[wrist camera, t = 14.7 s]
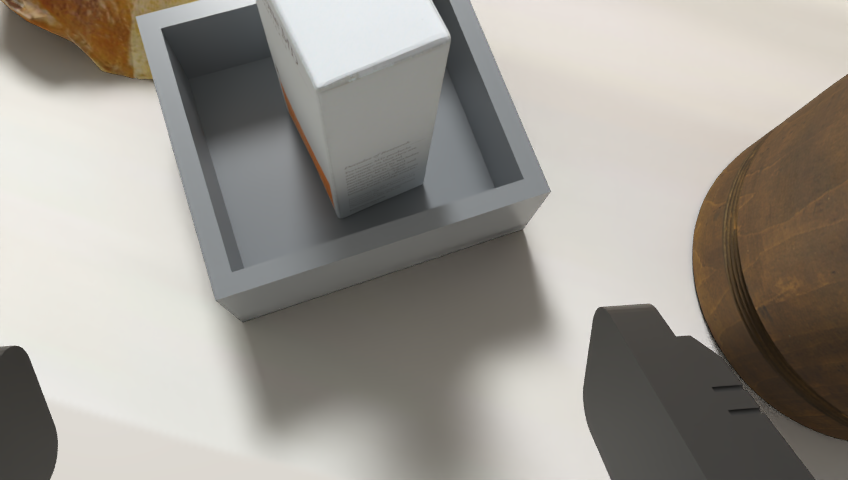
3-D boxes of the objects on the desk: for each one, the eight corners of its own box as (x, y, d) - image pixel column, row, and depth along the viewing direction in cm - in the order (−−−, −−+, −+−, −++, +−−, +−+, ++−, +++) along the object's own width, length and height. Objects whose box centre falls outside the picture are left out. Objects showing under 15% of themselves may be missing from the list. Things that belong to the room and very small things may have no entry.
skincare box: (283, 109, 30) (226, -88, 19) (370, 75, 31) (366, -135, 19) (338, 226, 29) (313, 92, 17) (427, 187, 30) (459, 35, 18)
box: (433, 9, 33) (443, -62, 28) (523, 228, 30) (550, 191, 26) (172, 79, 31) (135, 16, 26) (242, 322, 28) (215, 300, 24)
